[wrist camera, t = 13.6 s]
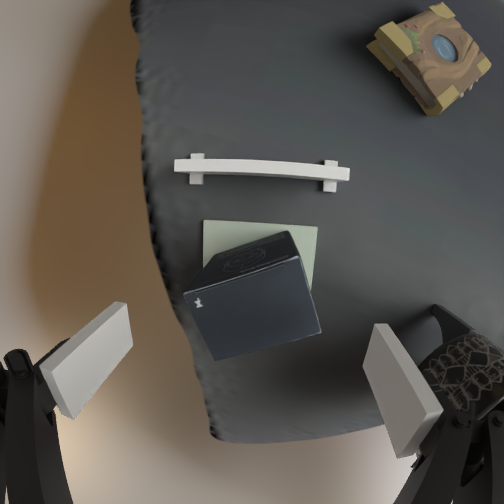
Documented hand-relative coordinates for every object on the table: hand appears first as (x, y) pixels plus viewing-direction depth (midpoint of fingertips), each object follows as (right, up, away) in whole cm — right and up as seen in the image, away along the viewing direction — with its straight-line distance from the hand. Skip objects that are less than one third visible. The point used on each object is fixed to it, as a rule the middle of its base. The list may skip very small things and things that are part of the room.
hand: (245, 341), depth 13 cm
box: (+1, +3, +14) cm, 14 cm away
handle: (+1, +12, +12) cm, 17 cm away
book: (+22, +27, +8) cm, 36 cm away
